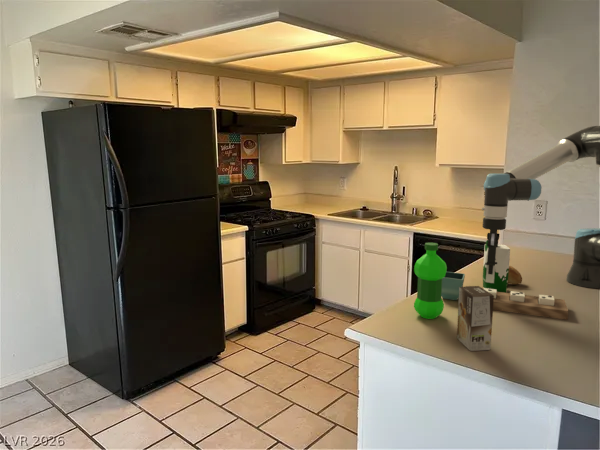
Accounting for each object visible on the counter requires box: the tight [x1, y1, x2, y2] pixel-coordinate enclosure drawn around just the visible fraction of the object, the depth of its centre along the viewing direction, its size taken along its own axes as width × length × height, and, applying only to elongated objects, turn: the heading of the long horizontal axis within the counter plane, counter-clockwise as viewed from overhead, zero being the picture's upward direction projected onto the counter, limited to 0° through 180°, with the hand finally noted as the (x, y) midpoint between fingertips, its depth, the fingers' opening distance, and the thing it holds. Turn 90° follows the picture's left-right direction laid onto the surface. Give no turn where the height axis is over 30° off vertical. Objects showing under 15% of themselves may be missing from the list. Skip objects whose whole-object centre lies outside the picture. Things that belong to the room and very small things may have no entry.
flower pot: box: [441, 271, 466, 301], centre depth 164 cm, size 9×9×9 cm
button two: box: [538, 294, 555, 306], centre depth 150 cm, size 4×4×4 cm
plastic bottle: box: [413, 242, 448, 320], centre depth 145 cm, size 10×10×25 cm
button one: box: [483, 288, 497, 299], centre depth 158 cm, size 4×4×4 cm
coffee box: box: [456, 285, 494, 352], centre depth 125 cm, size 9×6×16 cm
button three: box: [509, 290, 526, 302], centre depth 154 cm, size 4×4×4 cm
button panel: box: [493, 292, 569, 320], centre depth 154 cm, size 30×12×3 cm, turn 64°
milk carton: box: [482, 239, 511, 293], centre depth 172 cm, size 9×9×20 cm
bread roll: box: [507, 265, 523, 286], centre depth 182 cm, size 10×15×8 cm, turn 59°
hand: (489, 282), depth 157 cm, fingers closed
